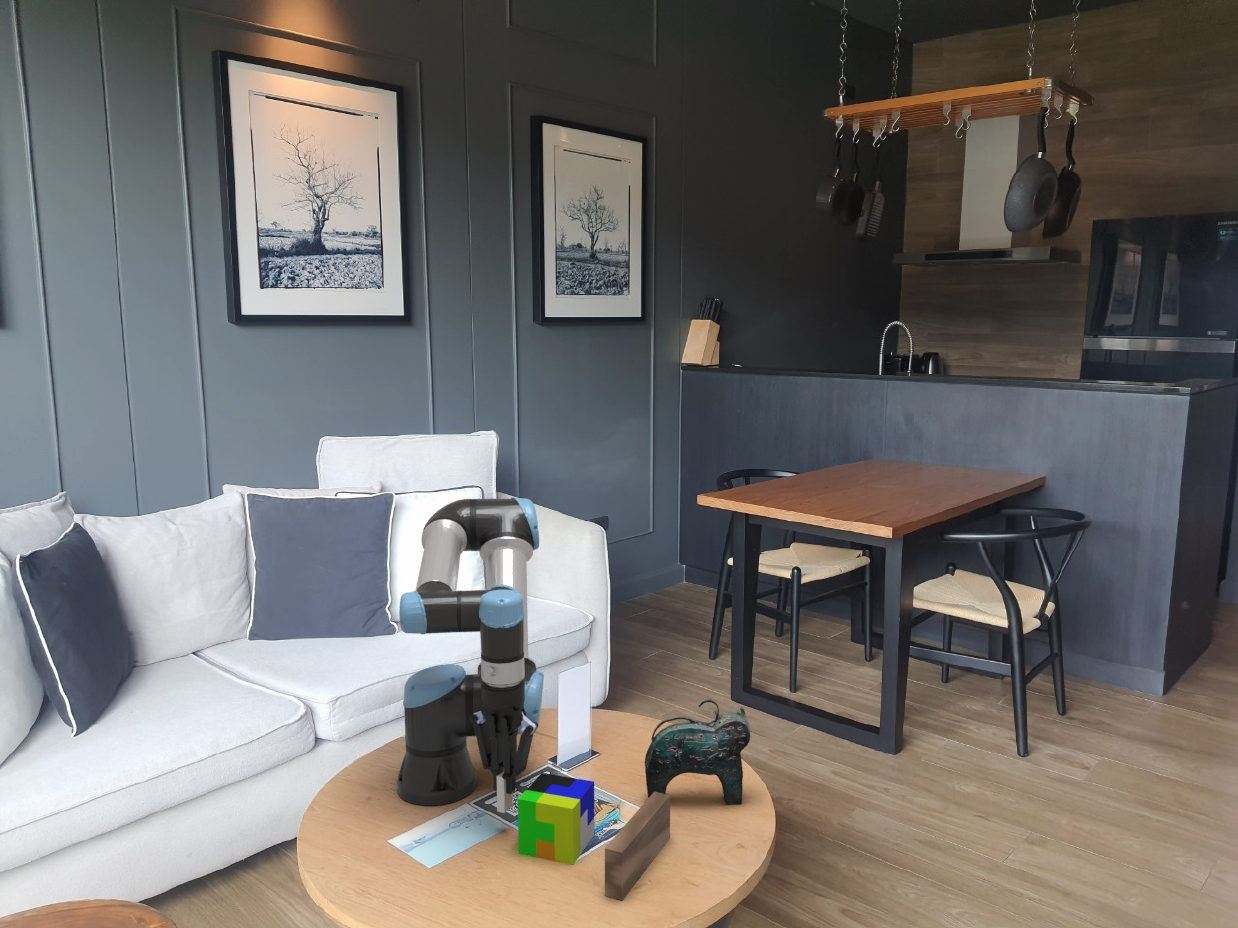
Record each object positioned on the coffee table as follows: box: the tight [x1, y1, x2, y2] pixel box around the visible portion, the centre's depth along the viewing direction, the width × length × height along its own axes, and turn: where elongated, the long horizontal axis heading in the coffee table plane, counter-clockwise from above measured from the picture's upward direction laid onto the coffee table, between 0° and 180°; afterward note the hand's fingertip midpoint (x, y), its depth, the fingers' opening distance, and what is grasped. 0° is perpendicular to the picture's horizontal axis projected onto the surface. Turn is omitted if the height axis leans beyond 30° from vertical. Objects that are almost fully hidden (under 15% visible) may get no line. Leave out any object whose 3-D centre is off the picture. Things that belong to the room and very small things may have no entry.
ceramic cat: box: [644, 698, 751, 806], centre depth 172 cm, size 20×6×20 cm, turn 92°
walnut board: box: [604, 792, 671, 901], centre depth 152 cm, size 3×20×8 cm, turn 155°
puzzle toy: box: [517, 772, 595, 866], centre depth 159 cm, size 10×10×10 cm
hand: (504, 808), depth 163 cm, fingers closed
